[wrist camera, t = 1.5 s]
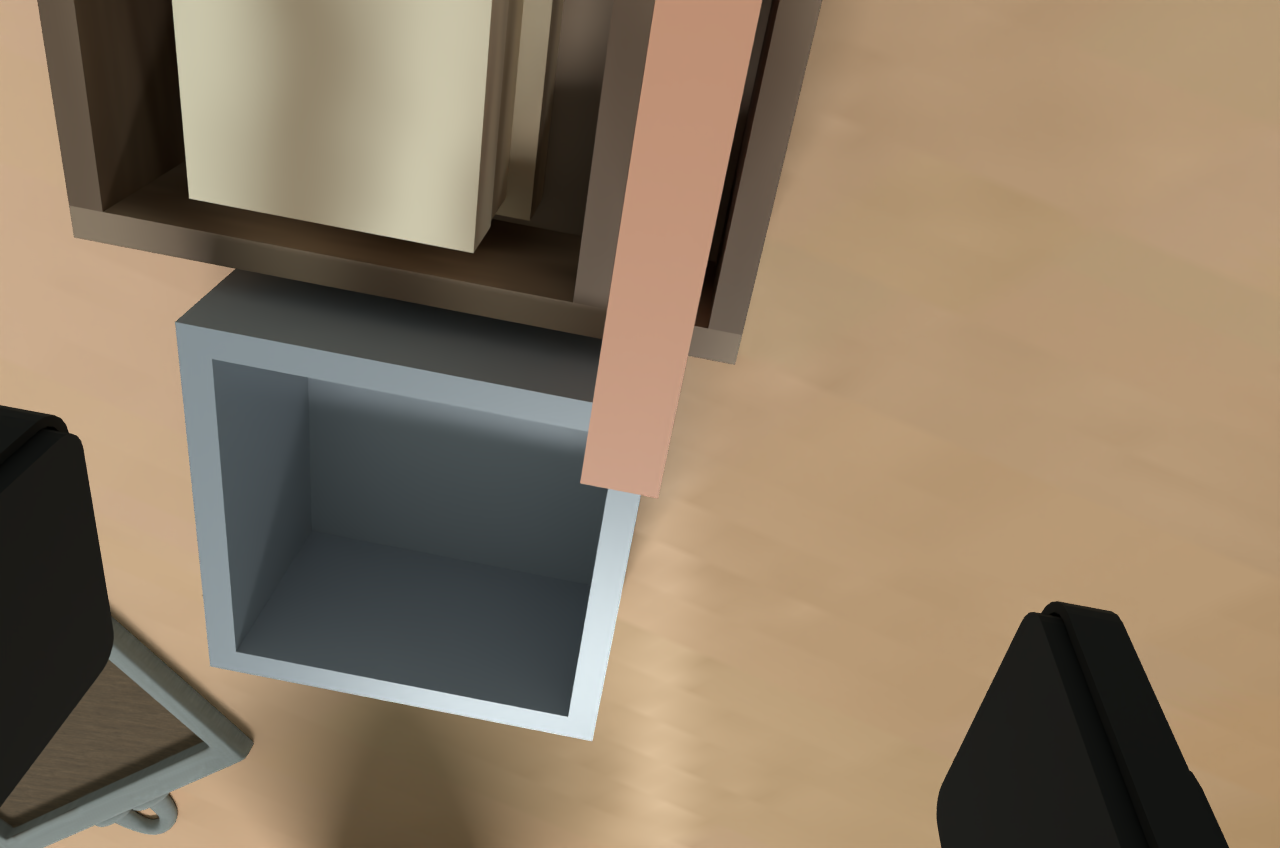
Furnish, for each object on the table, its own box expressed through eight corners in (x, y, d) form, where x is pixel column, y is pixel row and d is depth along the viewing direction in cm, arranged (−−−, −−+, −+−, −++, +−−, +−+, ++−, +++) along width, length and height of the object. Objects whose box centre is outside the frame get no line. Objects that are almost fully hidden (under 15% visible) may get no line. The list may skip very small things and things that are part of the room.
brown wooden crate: (847, -184, 27) (865, -180, 22) (740, 282, 35) (734, 364, 30) (128, -320, 28) (-17, -346, 23) (174, 173, 35) (74, 237, 30)
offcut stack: (579, -147, 28) (537, -135, 23) (541, 199, 33) (500, 272, 28) (223, -214, 28) (101, -217, 23) (243, 141, 33) (148, 203, 28)
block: (769, -111, 28) (769, -35, 15) (701, 229, 33) (657, 498, 20) (712, -122, 28) (663, -54, 15) (652, 220, 33) (579, 483, 20)
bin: (678, 297, 35) (656, 415, 29) (620, 592, 43) (592, 741, 36) (288, 222, 36) (175, 322, 29) (298, 529, 43) (210, 666, 36)
